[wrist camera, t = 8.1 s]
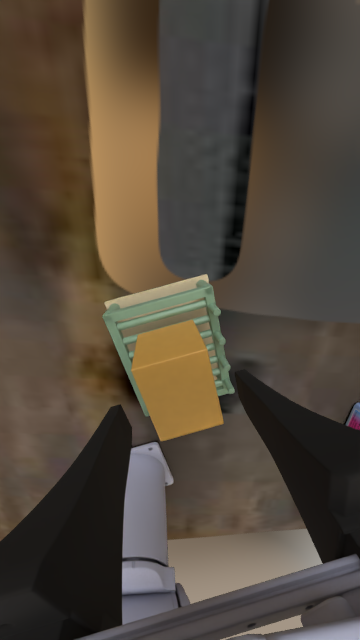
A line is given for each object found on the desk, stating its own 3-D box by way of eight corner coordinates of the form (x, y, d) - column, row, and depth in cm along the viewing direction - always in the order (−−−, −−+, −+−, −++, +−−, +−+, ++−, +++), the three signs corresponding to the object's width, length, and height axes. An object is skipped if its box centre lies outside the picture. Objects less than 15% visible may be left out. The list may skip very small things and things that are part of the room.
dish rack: (225, 374, 21) (242, 405, 17) (144, 397, 21) (142, 434, 17) (206, 273, 17) (222, 283, 13) (105, 301, 17) (89, 320, 13)
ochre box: (159, 393, 17) (160, 442, 13) (137, 334, 15) (130, 370, 11) (207, 379, 17) (224, 424, 13) (192, 319, 15) (207, 348, 11)
